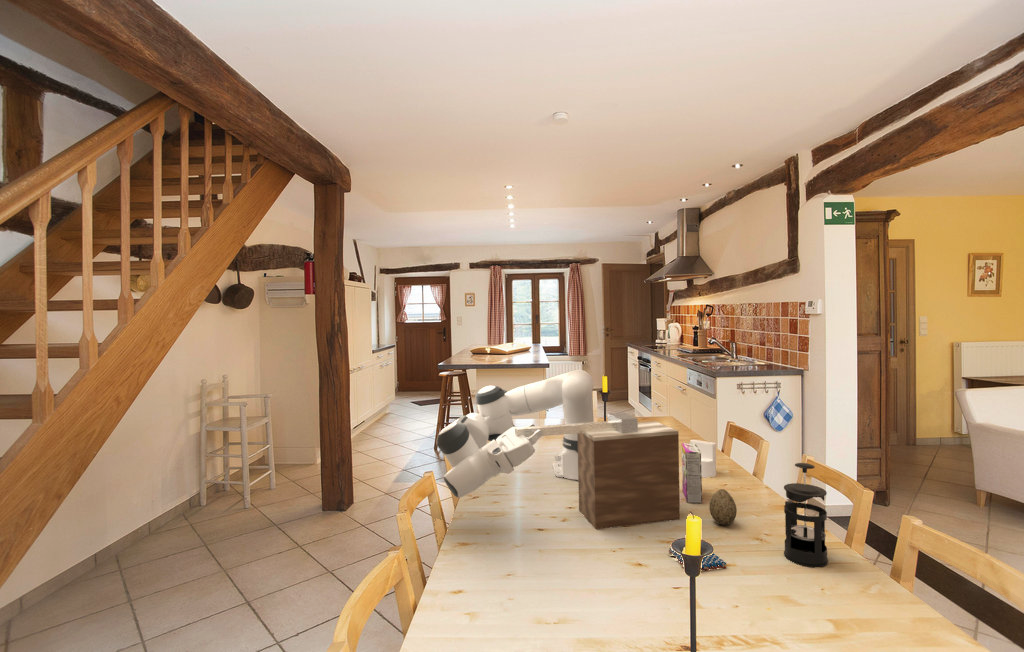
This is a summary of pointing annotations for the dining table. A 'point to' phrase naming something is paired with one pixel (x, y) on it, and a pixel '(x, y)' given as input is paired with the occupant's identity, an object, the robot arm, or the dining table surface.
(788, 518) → the french press
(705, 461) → the base with upright slab
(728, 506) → the decorative egg
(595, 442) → the dark wood block
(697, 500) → the candy bar box
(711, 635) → the dining table surface
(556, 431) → the bar
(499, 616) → the dining table surface
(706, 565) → the woven mat
